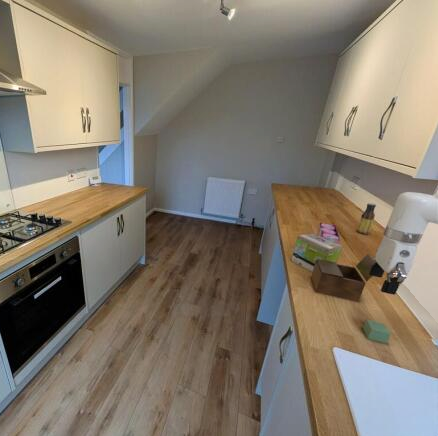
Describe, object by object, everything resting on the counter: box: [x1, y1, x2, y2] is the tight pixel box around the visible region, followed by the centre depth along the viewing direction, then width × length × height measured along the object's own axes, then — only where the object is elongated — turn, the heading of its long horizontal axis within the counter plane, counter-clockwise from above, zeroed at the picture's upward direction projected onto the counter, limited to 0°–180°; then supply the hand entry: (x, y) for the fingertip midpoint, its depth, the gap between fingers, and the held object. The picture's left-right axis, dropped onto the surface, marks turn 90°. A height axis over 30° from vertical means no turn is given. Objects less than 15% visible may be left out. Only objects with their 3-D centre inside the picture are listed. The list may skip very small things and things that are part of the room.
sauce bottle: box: [356, 202, 377, 235], centre depth 152 cm, size 6×6×20 cm
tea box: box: [291, 232, 343, 273], centre depth 113 cm, size 15×10×15 cm, turn 21°
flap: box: [355, 253, 375, 282], centre depth 91 cm, size 7×12×1 cm
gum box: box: [315, 222, 341, 245], centre depth 127 cm, size 24×8×14 cm, turn 147°
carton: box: [310, 259, 367, 303], centre depth 97 cm, size 14×12×10 cm
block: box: [362, 319, 392, 344], centre depth 75 cm, size 4×4×4 cm
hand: (380, 284), depth 75 cm, fingers open, 9 cm apart
